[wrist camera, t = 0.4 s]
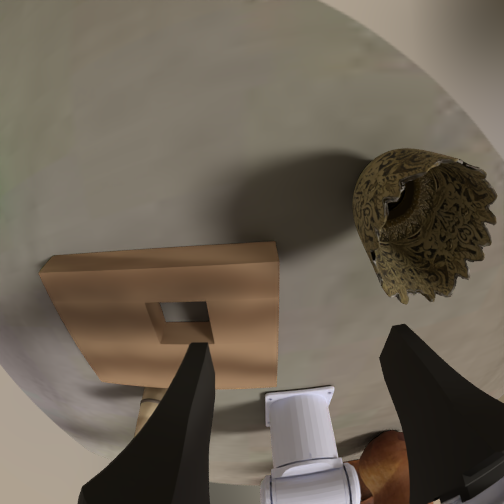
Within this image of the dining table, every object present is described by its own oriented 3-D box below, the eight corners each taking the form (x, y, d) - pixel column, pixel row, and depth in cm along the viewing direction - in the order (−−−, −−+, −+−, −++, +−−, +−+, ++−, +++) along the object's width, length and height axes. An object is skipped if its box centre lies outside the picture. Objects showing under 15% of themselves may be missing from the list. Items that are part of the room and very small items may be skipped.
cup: (315, 225, 19) (353, 306, 12) (338, 116, 15) (408, 138, 8) (404, 238, 19) (461, 306, 13) (432, 146, 16) (514, 186, 9)
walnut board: (274, 366, 26) (276, 386, 24) (107, 363, 26) (101, 381, 24) (275, 241, 19) (279, 261, 17) (53, 255, 19) (38, 272, 17)
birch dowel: (176, 394, 29) (166, 471, 21) (150, 393, 29) (136, 466, 21) (168, 379, 28) (156, 462, 19) (141, 378, 28) (123, 457, 19)
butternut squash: (341, 450, 45) (358, 551, 23) (377, 423, 38) (406, 544, 17) (391, 442, 47) (412, 530, 26) (428, 414, 40) (460, 514, 19)
